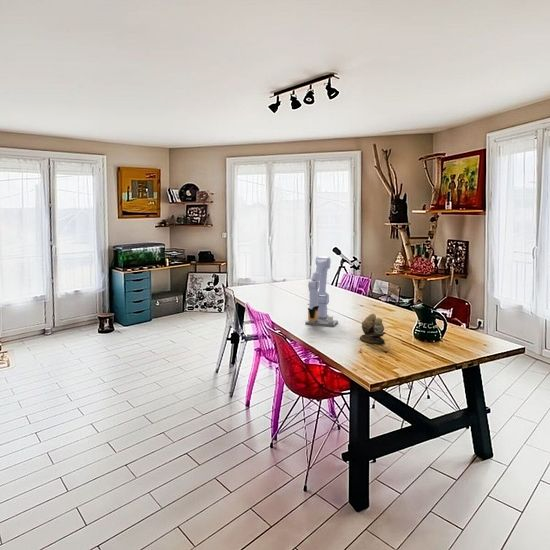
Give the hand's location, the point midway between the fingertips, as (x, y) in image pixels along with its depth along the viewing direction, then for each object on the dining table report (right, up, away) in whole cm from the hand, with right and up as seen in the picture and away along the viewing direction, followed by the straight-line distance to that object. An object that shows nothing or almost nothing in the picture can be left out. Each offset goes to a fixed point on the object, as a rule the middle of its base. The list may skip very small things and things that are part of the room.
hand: (313, 317), depth 303 cm
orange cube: (0, -1, 0) cm, 1 cm away
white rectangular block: (0, -4, +1) cm, 4 cm away
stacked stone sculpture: (+32, -11, -41) cm, 53 cm away
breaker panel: (+6, -4, -1) cm, 7 cm away
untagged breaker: (+11, -3, -4) cm, 12 cm away
